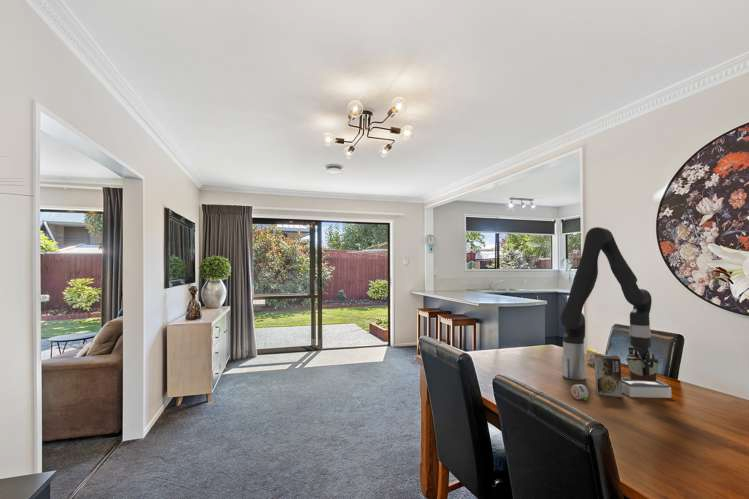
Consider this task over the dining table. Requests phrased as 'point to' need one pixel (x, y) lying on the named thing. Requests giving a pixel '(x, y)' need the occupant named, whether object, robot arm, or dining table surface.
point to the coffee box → (608, 375)
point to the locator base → (645, 389)
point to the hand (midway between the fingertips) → (641, 374)
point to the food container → (641, 369)
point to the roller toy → (579, 392)
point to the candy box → (592, 356)
